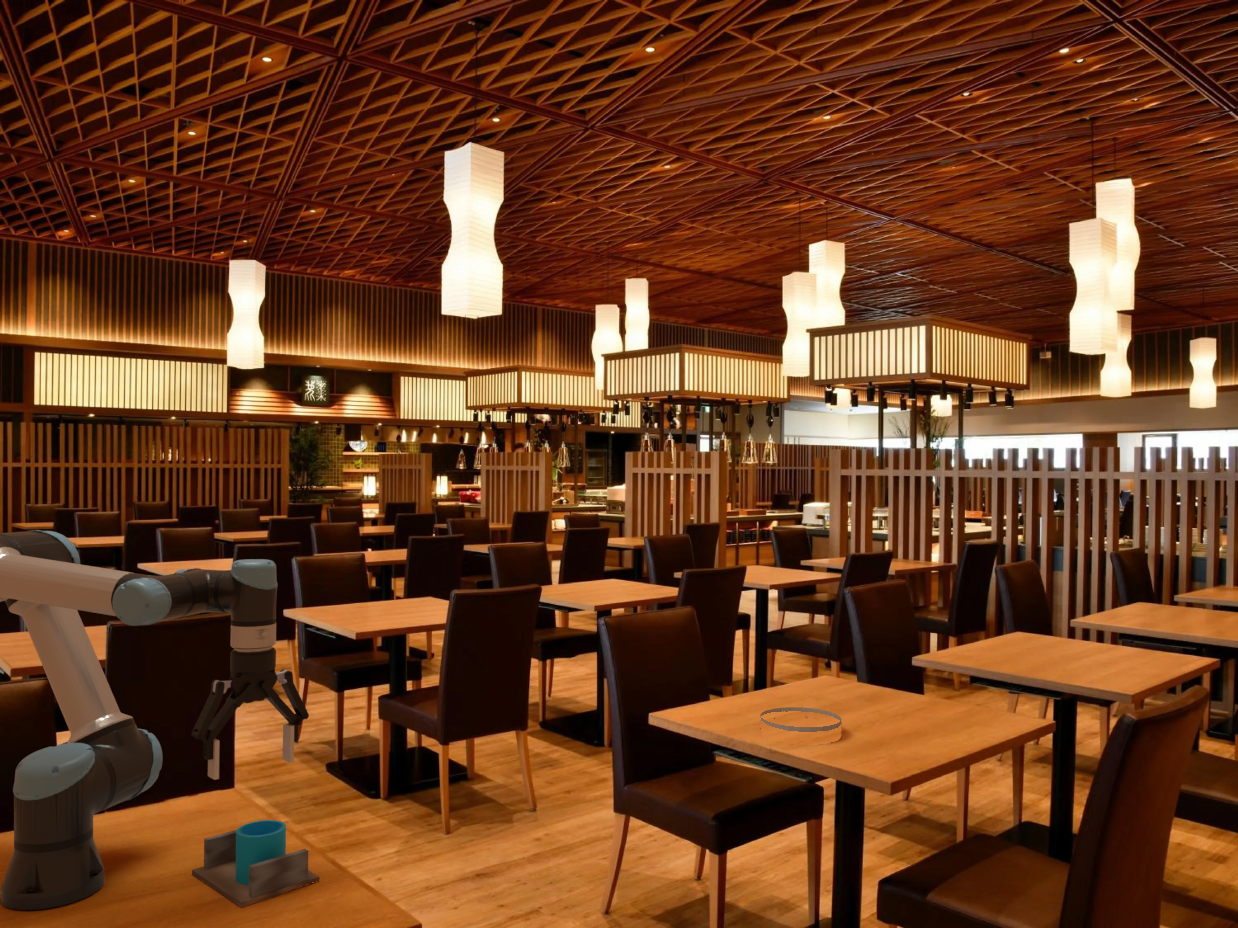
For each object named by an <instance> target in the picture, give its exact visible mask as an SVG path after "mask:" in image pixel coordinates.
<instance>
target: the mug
mask: <svg viewBox="0 0 1238 928" xmlns="http://www.w3.org/2000/svg"><path fill="white" fill-rule="evenodd" d="M235 830H236V881H237V882H238V883H240V884H243V885H249V865H253V864H256V863H259V862H263V861H266V860H269V859H272V858H276V857H279V856H282V855H286V854H287V849H286V848H287V825H286V824H285V822H283V821H281V820H275V819H265V820H256V821H251V822H248V823H244V824H243V825H241V826H239V827H238V828H237V829H235Z"/></svg>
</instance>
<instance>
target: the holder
mask: <svg viewBox="0 0 1238 928" xmlns="http://www.w3.org/2000/svg"><path fill="white" fill-rule="evenodd" d="M236 830H237V829H234V830H230V831H228V832H223V833H220V834H216V835H213V836H209V837H205V838H204V839H203V848H204V849H203V866H200V867H196V868H193V869H191V875H192V876H194V877H195V878H197V879H198V880H200V881H201V882H203V883H204V884H205V885H207V886H208V887H210V888H212V889H213V890H215V892H218V894H220V895H222V896H224V897H225V898H226V899H228V900H230V901H231V902H232V903H234V904H235V905H236V906H238V907H240V908H244V907H246V906H249V905H253V904H256V903H259V902H262V901H265V900H268V899H271V898H273V897H277V896H280V895H283V894H286V893H288V892H287V891H289V892H292V891H294V890H293V889H295V890H297V889H296V888H298V889H300V888H299V887H301V886H304V887H306V886H305V885H307V884H310V883H312V882H316V881H319V880H321V879H320V876H319V875H317V874H315V873H313V872H312V871H311V870H309V850H308V849H306V848H302V849H299V850H296V851H293V852H289V853H286V855H282V856H279V857H276V858H272V859H269V860H266V861H263V862H259V863H256V864H253V865H249V885H243V884H240V883H238V882H237V881H236ZM319 882H320V881H319ZM316 883H317V882H316ZM310 885H311V884H310ZM307 886H308V885H307ZM301 888H302V887H301ZM291 890H292V891H291ZM285 892H286V893H285ZM282 893H283V894H282ZM279 894H280V895H279ZM276 895H277V896H276Z"/></svg>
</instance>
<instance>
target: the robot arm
mask: <svg viewBox="0 0 1238 928" xmlns="http://www.w3.org/2000/svg"><path fill="white" fill-rule="evenodd" d="M277 578H278V577H277V564H276V563H275V561H274V560H272V559H271V560H270V559H266V558H265V559H264V558H262V559H261V558H259V559H258V558H256V559H254V558H253V559H252V558H251V559H249V558H248V559H247V558H246V559H238V560H235V561H233V562H232V564H231V569H230V570H224V569H223V570H221V569H205V568H203V569H202V568H199V567H195V568H184V569H183V568H182V569H178V570H176V571H175V572H174V573H171V574H163V575H149V574H142V573H135V572H130V571H124V570H117V569H112V568H104V567H99V566H92V565H85V564H81V559H80V555H79V552H78V550H77V548H76V547H75V545H74V544H73V542H72V541H71V540H70V539H69V538H68V537H66V536H65V535H64V534H62V533H59V532H57V531H52V530H40V529H31V530H26V531H16V532H3V533H0V603H1V602H5V605H6V606H7V609H8V611H9V612H10V613H11V614H15V615H18V616H19V617H22V620H23V623H24V624H25V627H26V629H27V633H28V634H29V636H30V639H31V641H32V644H33V646H34V649H35V651H36V653H37V656H38V659H39V661H40V664H41V665H42V667H43V668H42V669H44V672H45V675H46V677H47V680H48V682H49V685H50V688H51V689H52V692H53V694H54V697H55V699H56V701H57V704H58V706H59V710H60V711H61V713H62V716H63V718H64V721H65V723H66V726H67V728H68V730H69V733H70V737H69V739H68V740H67V743H61V744H58V745H55V746H48V747H45V748H42V749H39V750H36V751H34V752H32V753H30V754H28V755H27V756H25V757H24V758H22V760H21V761H19V763H18V764H17V766H16V768H15V773H14V774H15V775H14V783H13V787H12V792H13V853H12V856H11V859H10V862H9V865H8V868H7V870H6V872H5V875H4V877H3V878H4V879H3V881H2V884H1V888H0V890H1V892H0V895H1V896H0V902H1V904H2V905H3V906H4V907H6V908H9V909H12V910H17V911H18V910H19V911H36V910H46V909H52V908H57V907H61V906H66V905H70V904H72V903H75V902H78V901H81V900H83V899H85V898H88V897H90V896H92V895H93V894H95V893H97V892H98V891H99V890H101V888H102V887H103V886H104V885H105V867H104V864H103V860H102V858H101V856H100V853H99V851H98V850H99V849H98V848H97V845H96V842H95V840H94V815H96V814H97V813H100V812H102V811H104V810H107V809H109V808H111V807H113V806H116V805H118V804H121V803H123V802H125V801H130V800H132V799H134V798H136V797H137V796H139V795H140V794H143V793H144V792H145V791H147V790H149V789H150V788H151V787H152V786H153V785H154V783H156V781H157V779H158V778H159V775H160V771H161V770H162V766H163V760H164V759H163V750H162V746H161V743H160V741H159V740H158V738H157V737H156V735H155V734H153V733H152V732H149V730H147V729H142V728H138V726H137V724H136V722H135V719H134V717H133V716H132V715H128V714H125V713H122V712H121V710H120V708H119V706H118V703H117V701H116V698H115V696H114V694H113V692H112V689H111V687H110V684H109V682H108V679H107V677H106V675H105V673H104V671H103V668H102V666H101V663H100V661H99V658H98V655H97V653H96V652H95V649H94V647H93V644H92V642H91V640H90V637H89V634H88V632H87V630H86V627H85V626H84V623H83V621H82V618H81V616H80V614H79V611H82V612H88V613H96V614H99V615H100V614H101V615H105V616H106V615H107V616H113V617H117V619H119V620H120V621H121V622H122V623H123V624H125V625H128V626H131V627H132V626H133V627H134V626H136V627H137V626H151V625H153V624H156V623H160V622H164V621H170V620H174V619H178V618H183V617H188V616H189V617H190V616H193V615H198V614H201V613H220V614H221V613H223V614H230V647H231V648H233V649H232V650H231V651H230V654H229V655H230V662H229V663H230V664H229V666H230V667H229V670H230V677H229V679H228V680H219V679H213V680H212V681H211V684H210V693H209V694H208V698H207V700H206V702H205V703H204V706H203V707H202V710H201V712H200V714H199V716H198V718H197V720H196V723H195V725H194V727H193V729H192V731H191V736H192V737H193V738H195V739H197V740H199V741H200V740H202V757H203V759H205V760H206V761H207V777H209V778H210V779H212V780H214V781H215V780H219V779H220V740H219V739H217V736H218V735H219V733H220V732H222V730H223V728H224V727H225V726H226V725H227V723H228V721H229V720H230V719H231V717H232V716H233V715H234V713H235V712H236V710H237V709H238V708H240V707H241V706H242V704H244V703H246V704H250V703H253V702H255V701H256V702H261V701H262V702H263V701H264V700H265V699H267V700H268V701H269V703H270V704H271V705H272V706H273V707H274V708H275V710H277V711H278V712H279V713H280V715H282V717H283V718H284V719H285V720H286V721H287V722H284V723H283V724H282V760H283V761H285V762H287V763H290V764H291V763H295V762H294V761H295V743H296V742H298V740H299V726H300V725H302V723H303V721H304V720H308V718H309V717H310V714H309V712H308V709H307V708H306V706H305V704H304V702H303V699H302V698H301V695H300V694H299V691H298V690H297V687H296V685H295V683H294V674H293V672H292V671H290V670H288V669H283V668H282V669H281V670H280V671H279V672H276V667H277V649H276V648H275V647H274V646H275V645H276V644H277V596H278V595H277V593H278V584H279V583H278V581H277ZM277 682H278V683H279V684H281V687H282V689H283V690H284V693H285V694H286V697H287V699H288V701H289V703H290V705H291V707H292V709H293V710H294V711H293V710H292V709H291V708H290V707H289V706H288V705H287V703H286V702H285V701H283V699H282V698H281V697H280V695H279V694H278V693H277V691H275V690H274V686H275V685H276V684H277ZM228 689H229V690H230V691H231V693H230V694H229V695H228V697H227V698H226V700H225V703H224V704H223V705H222V707H220V709H219V711H218V712H217V710H218V708H219V706H220V704H221V702H222V699H223V697H224V694H226V693H227V690H228ZM216 712H217V713H216Z"/></svg>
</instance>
